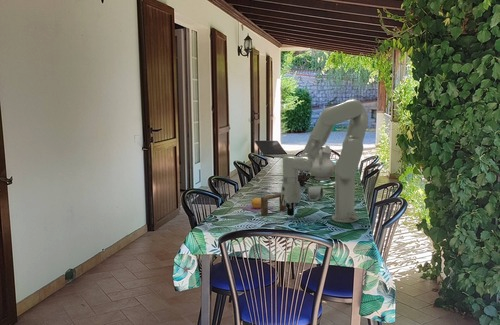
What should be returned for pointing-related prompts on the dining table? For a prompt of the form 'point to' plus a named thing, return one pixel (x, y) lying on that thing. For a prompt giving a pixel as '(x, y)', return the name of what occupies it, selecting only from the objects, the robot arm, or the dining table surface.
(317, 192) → the ceramic mug
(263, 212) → the bridge
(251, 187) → the dining table surface
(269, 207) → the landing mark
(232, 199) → the dining table surface
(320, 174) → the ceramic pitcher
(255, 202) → the ball
